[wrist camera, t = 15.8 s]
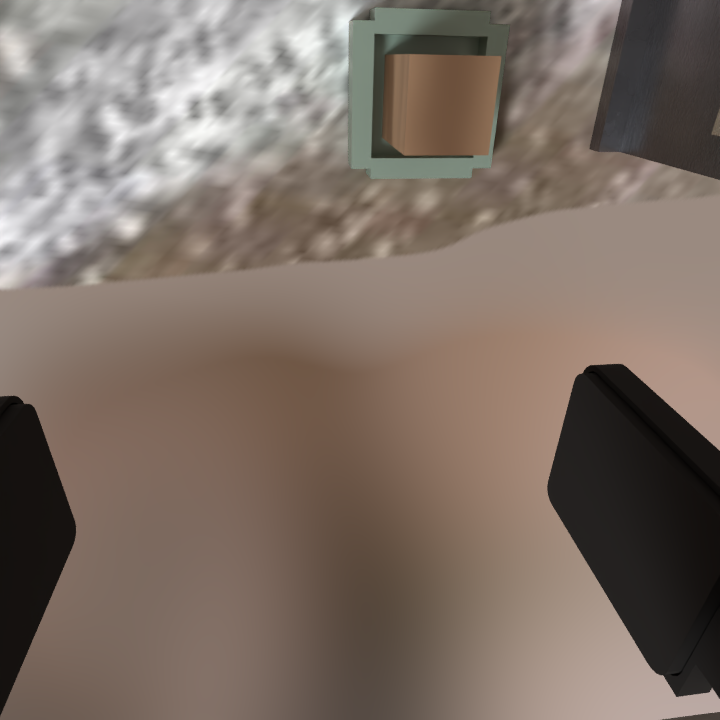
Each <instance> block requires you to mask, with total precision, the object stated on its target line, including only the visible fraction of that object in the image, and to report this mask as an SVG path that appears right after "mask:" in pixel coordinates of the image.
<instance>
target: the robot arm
mask: <svg viewBox="0 0 720 720" xmlns="http://www.w3.org/2000/svg"><path fill="white" fill-rule="evenodd" d="M547 487H548V496H549V499H550V502H551V504H552V506H553V507H554V509H555V510H556V512H557V514H558V515H559V517H560V519H561V520H562V522H563V524H564V525H565V527H566V529H567V530H568V532H569V533H570V535H571V537H572V539H573V540H574V542H575V543H576V545H577V547H578V549H579V550H580V552H581V554H582V555H583V557H584V558H585V560H586V562H587V563H588V565H589V567H590V568H591V570H592V572H593V573H594V575H595V577H596V578H597V580H598V582H599V583H600V585H601V587H602V588H603V590H604V592H605V593H606V595H607V597H608V598H609V600H610V602H611V603H612V605H613V607H614V608H615V610H616V611H617V613H618V615H619V616H620V618H621V620H622V621H623V623H624V625H625V626H626V628H627V630H628V631H629V633H630V635H631V636H632V638H633V640H634V641H635V643H636V645H637V646H638V648H639V650H640V651H641V653H642V654H643V656H644V658H645V660H646V661H647V663H648V664H649V666H650V667H651V668H652V670H654V671H655V672H656V673H657V674H659V675H663V676H664V677H665V679H666V681H667V682H668V684H669V685H670V687H671V688H672V690H673V692H674V694H675V695H676V697H679V696H686V695H693V694H701V693H708V692H710V690H711V688H713V690H714V691H715V692H716V694H717V695H718V697H719V698H720V451H719V450H718V449H717V448H716V447H715V446H713V444H711V443H710V442H709V441H708V440H707V439H706V438H705V437H704V436H703V435H701V434H700V433H699V432H698V431H697V430H696V429H695V428H694V427H693V426H691V425H690V424H689V423H688V422H687V421H686V420H685V419H684V418H683V417H681V416H680V415H679V414H678V413H677V412H676V411H675V410H674V409H673V408H671V407H670V406H669V405H668V404H667V403H666V402H665V401H664V400H663V399H661V398H660V397H659V396H658V395H657V394H656V393H655V392H653V390H651V389H650V388H649V387H648V386H647V385H646V384H645V383H644V382H643V381H641V380H640V379H639V378H638V377H637V376H636V375H635V374H634V373H632V372H631V371H630V370H629V369H628V368H627V367H626V366H624V365H622V364H607V365H590V366H588V367H587V368H586V369H585V370H584V372H583V374H579V375H578V376H577V377H576V378H575V381H574V385H573V388H572V392H571V396H570V400H569V404H568V407H567V411H566V415H565V419H564V423H563V427H562V431H561V434H560V438H559V442H558V446H557V450H556V453H555V457H554V461H553V465H552V469H551V473H550V476H549V480H548V486H547ZM75 536H76V525H75V520H74V518H73V514H72V512H71V509H70V506H69V503H68V501H67V497H66V494H65V492H64V489H63V486H62V483H61V480H60V478H59V475H58V472H57V469H56V467H55V463H54V461H53V458H52V455H51V452H50V450H49V446H48V444H47V441H46V438H45V435H44V432H43V429H42V426H41V424H40V421H39V418H38V415H37V413H36V410H35V408H34V407H33V406H32V405H30V404H24V403H23V401H22V400H21V399H20V398H19V397H17V396H2V397H0V715H1V713H2V711H3V708H4V706H5V703H6V701H7V699H8V696H9V694H10V692H11V689H12V687H13V685H14V682H15V680H16V678H17V675H18V673H19V671H20V668H21V666H22V664H23V661H24V659H25V657H26V654H27V652H28V650H29V647H30V645H31V643H32V640H33V638H34V636H35V633H36V631H37V629H38V626H39V624H40V622H41V619H42V617H43V614H44V612H45V610H46V607H47V605H48V603H49V600H50V598H51V596H52V593H53V591H54V589H55V586H56V584H57V582H58V579H59V577H60V575H61V572H62V570H63V568H64V565H65V563H66V560H67V558H68V556H69V554H70V551H71V549H72V546H73V544H74V541H75ZM663 720H720V712H717V713H708V714H701V715H693V716H685V717H678V718H671V719H663Z"/></svg>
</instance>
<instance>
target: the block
mask: <svg viewBox="0 0 720 720" xmlns="http://www.w3.org/2000/svg"><path fill="white" fill-rule="evenodd" d="M501 57H502V56H472V55H427V54H391V55H385V63H384V90H383V118H382V138H383V139H384V140H386V141H387V142H388V143H389V144H390V145H392V146H393V147H394V148H395V149H397V150H398V151H399V152H400V153H402V154H403V155H404V156H407V155H489V148H490V140H491V132H492V125H493V117H494V110H495V102H496V94H497V87H498V79H499V72H500V64H501Z"/></svg>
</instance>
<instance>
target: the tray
mask: <svg viewBox="0 0 720 720" xmlns="http://www.w3.org/2000/svg"><path fill="white" fill-rule="evenodd" d="M490 15H491V11H471V10H440V9H409V8H379V7H375V8H373V9H371V10H370V20H352V21H350V22H349V89H348V164H349V165H350V167H351V169H366V173H367V174H368V176H369V177H370V179H399V178H471V176H472V168H491V161H492V154H493V147H494V139H495V132H496V124H497V117H498V110H499V102H500V95H501V87H502V80H503V73H504V65H505V58H506V50H507V43H508V36H509V28H510V25H507V24H490ZM391 54H427V55H472V56H502V57H501V64H500V72H499V79H498V87H497V94H496V102H495V110H494V117H493V125H492V132H491V140H490V148H489V155H407V156H404V155H403V154H402V153H400V152H399V151H398V150H397V149H395V148H394V147H393V146H392V145H390V144H389V143H388V142H387V141H386V140H384V139H383V138H382V118H383V90H384V63H385V55H391Z"/></svg>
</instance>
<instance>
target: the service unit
mask: <svg viewBox="0 0 720 720" xmlns="http://www.w3.org/2000/svg"><path fill="white" fill-rule="evenodd" d="M590 149H591V150H594V151H598V152H622V153H626V154H630V155H633V156H637V157H640V158H644V159H647V160H651V161H654V162H658V163H662V164H665V165H669V166H672V167H676V168H679V169H683V170H686V171H690V172H694V173H697V174H701V175H704V176H708V177H711V178H715V179H719V180H720V0H622V4H621V8H620V13H619V17H618V22H617V26H616V31H615V35H614V40H613V44H612V49H611V53H610V58H609V63H608V67H607V72H606V76H605V81H604V85H603V90H602V94H601V99H600V103H599V108H598V112H597V117H596V121H595V126H594V131H593V135H592V140H591V144H590Z"/></svg>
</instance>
